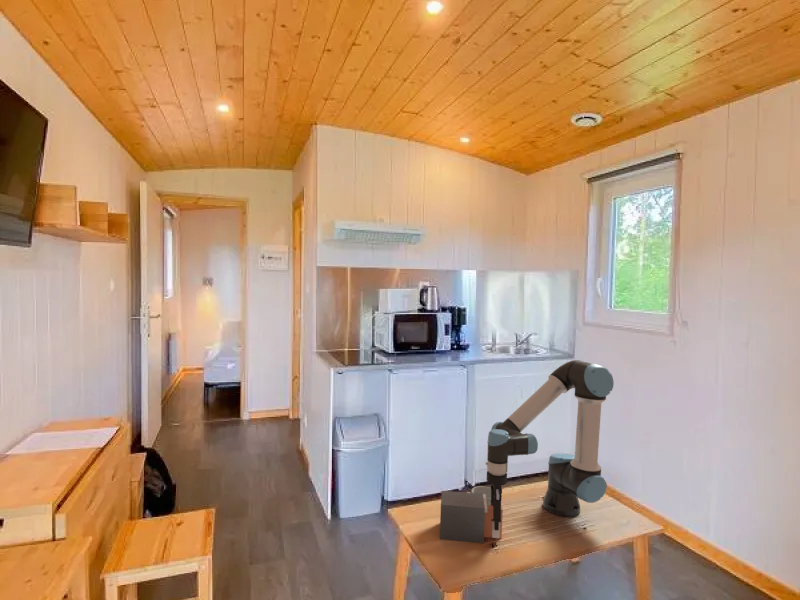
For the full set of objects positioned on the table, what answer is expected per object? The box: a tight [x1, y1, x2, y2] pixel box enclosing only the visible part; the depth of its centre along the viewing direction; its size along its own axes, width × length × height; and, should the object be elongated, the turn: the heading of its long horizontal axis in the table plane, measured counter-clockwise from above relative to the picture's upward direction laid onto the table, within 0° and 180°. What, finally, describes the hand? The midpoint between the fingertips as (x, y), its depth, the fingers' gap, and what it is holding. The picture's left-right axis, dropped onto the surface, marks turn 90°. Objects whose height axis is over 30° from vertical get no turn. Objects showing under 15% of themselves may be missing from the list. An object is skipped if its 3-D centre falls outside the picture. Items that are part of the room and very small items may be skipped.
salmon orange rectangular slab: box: [484, 505, 504, 539], centre depth 175 cm, size 12×2×11 cm, turn 83°
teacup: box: [465, 485, 491, 505], centre depth 195 cm, size 14×11×8 cm
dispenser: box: [439, 490, 487, 544], centre depth 176 cm, size 17×12×13 cm
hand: (494, 531), depth 175 cm, fingers open, 8 cm apart
